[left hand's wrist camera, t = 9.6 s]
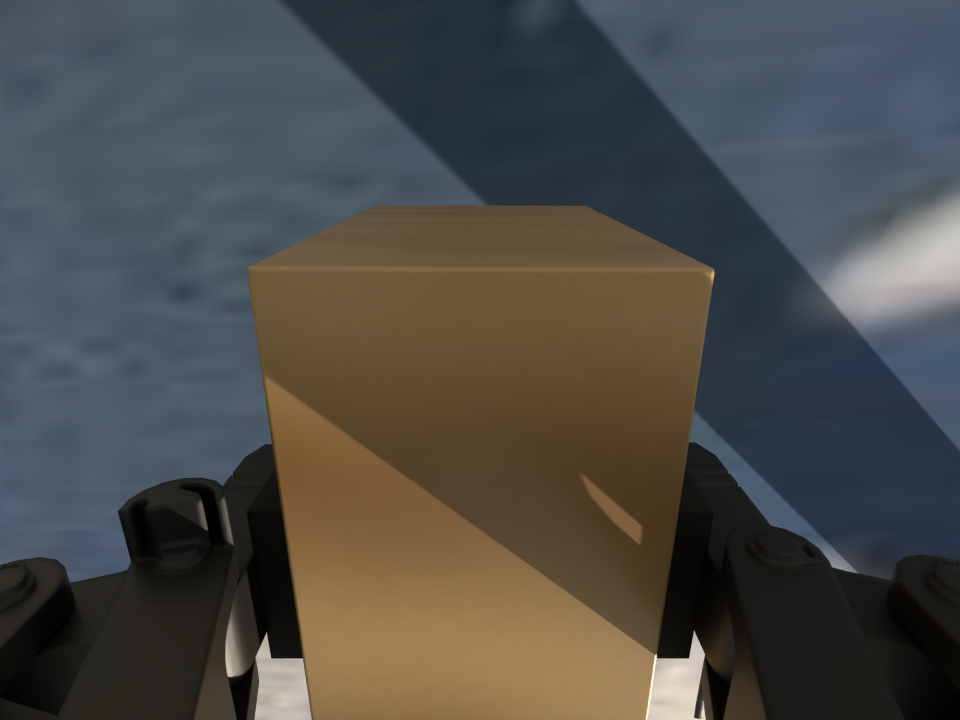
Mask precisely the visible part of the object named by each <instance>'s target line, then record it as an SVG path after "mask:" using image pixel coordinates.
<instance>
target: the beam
mask: <svg viewBox="0 0 960 720" xmlns="http://www.w3.org/2000/svg"><path fill="white" fill-rule="evenodd" d="M247 273H248V280H249V287H250V294H251V301H252V308H253V315H254V322H255V329H256V336H257V343H258V350H259V357H260V363H261V370H262V377H263V384H264V391H265V398H266V405H267V412H268V419H269V426H270V433H271V440H272V447H273V453H274V460H275V467H276V474H277V481H278V488H279V495H280V502H281V509H282V516H283V523H284V530H285V537H286V544H287V550H288V557H289V564H290V571H291V578H292V585H293V592H294V599H295V606H296V613H297V620H298V627H299V634H300V640H301V647H302V654H303V661H304V668H305V675H306V682H307V689H308V696H309V703H310V710H311V717H312V720H647V719H648V712H649V706H650V699H651V692H652V686H653V679H654V672H655V666H656V659H657V652H658V646H659V639H660V632H661V626H662V619H663V612H664V606H665V599H666V592H667V586H668V579H669V572H670V566H671V559H672V552H673V546H674V539H675V532H676V526H677V519H678V512H679V506H680V499H681V492H682V486H683V479H684V472H685V466H686V459H687V453H688V446H689V439H690V433H691V426H692V419H693V413H694V406H695V399H696V393H697V386H698V379H699V373H700V366H701V359H702V353H703V346H704V339H705V333H706V326H707V319H708V313H709V306H710V299H711V293H712V286H713V279H714V269H713V268H711V267H709V266H707V265H705V264H703V263H701V262H699V261H697V260H695V259H693V258H691V257H689V256H687V255H685V254H683V253H681V252H679V251H677V250H675V249H673V248H671V247H669V246H667V245H665V244H663V243H660V242H658V241H656V240H654V239H652V238H650V237H648V236H646V235H644V234H642V233H640V232H638V231H636V230H634V229H632V228H630V227H628V226H626V225H624V224H622V223H620V222H618V221H616V220H614V219H612V218H610V217H608V216H606V215H604V214H602V213H600V212H597V211H595V210H593V209H591V208H589V207H587V206H501V205H376V206H374V207H372V208H370V209H367V210H365V211H363V212H361V213H359V214H357V215H355V216H353V217H351V218H349V219H347V220H345V221H343V222H341V223H339V224H337V225H335V226H332V227H330V228H328V229H326V230H324V231H322V232H320V233H318V234H316V235H314V236H312V237H310V238H308V239H306V240H304V241H302V242H299V243H297V244H295V245H293V246H291V247H289V248H287V249H285V250H283V251H281V252H279V253H277V254H275V255H273V256H271V257H269V258H267V259H264V260H262V261H260V262H258V263H256V264H254V265H252V266H250V267H248V270H247Z"/></svg>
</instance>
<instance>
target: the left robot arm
mask: <svg viewBox="0 0 960 720" xmlns="http://www.w3.org/2000/svg"><path fill="white" fill-rule="evenodd" d="M118 514H119V517H120V521H121V525H122V529H123V532H124V536H125V540H126V544H127V547H128V551H129V555H130V559H131V563H130V566H129V568H128V570H126V571H123V572H119V573H115V574H110V575H106V576H101V577H96V578H91V579H87V580H82V581H77V582H72V583H70V582H69V578H68V575H67V572H66V569H65V566H63V565H62V564H61V563H60V562H59V561H57V560H56V559H49V558H42V557H39V558H31V559H23V560H17V561H13V562H9V563H8V564H2V565H0V720H254V718H255V710H256V702H257V694H258V686H259V676H258V669H257V663H256V658H255V657H256V655H257V652H258V650H259V648H260V646H261V644H262V641H263V639H264V637H265V635H266V632H267V636H268V641H269V647H270V653H271V658H303V654H302V647H301V640H300V634H299V627H298V620H297V613H296V606H295V599H294V592H293V585H292V578H291V571H290V564H289V557H288V550H287V544H286V537H285V530H284V523H283V516H282V509H281V502H280V495H279V488H278V481H277V474H276V467H275V460H274V453H273V447H272V444H265V445H264V446H262V447H260V448H259V449H257V450H256V451H254V452H253V453H251V454H250V455H248V456H246V457H245V458H244V459H243V461H242V462H241V463H240V464H239V466H238V467H237V468H236V470H235V471H234V472H233V476H230V477H229V479H228V480H227V481H226V482H225V484H224V485H223V486H221V485H220V484H219V483H218V482H217V481H214V480H210V479H205V478H182V479H178V480H173V481H168V482H164V483H161V484H159V485H156V486H153V487H151V488H148V489H146V490H144V491H142V492H140V493H139V494H137V495H136V496H134V497H132V498H131V499H129V500H128V501H127V502H126V503H125V504H124V505H123V506H122V507H121V508H120V510H119V511H118ZM694 631H695V633H696V635H697V637H698V640H699V642H700V644H701V646H702V648H703V651H704V653H705V658H704V663H703V669H702V674H701V679H700V685H699V690H698V696H697V701H696V707H695V715H694V718H697V719H702V716H703V711H704V709H705V717H706V720H960V562H958V561H956V562H955V561H953V560H951V559H947V558H942V557H935V556H927V555H916V556H909V557H905V558H903V559H902V560H901V561H900V562H898V563H897V565H896V568H895V571H894V574H893V577H892V580H886V579H881V578H876V577H872V576H867V575H862V574H857V573H852V572H848V571H843V570H840V569H836V568H832V567H831V565H830V562H829V561H828V559H827V558H826V557H825V555H824V554H823V553H822V552H821V550H820V549H819V548H818V547H816V546H815V545H813V544H812V543H811V542H809V541H808V540H807V539H805V538H804V537H801V536H799V535H797V534H795V533H793V532H790V531H788V530H786V529H782V528H778V527H774V526H771V525H770V524H769V523H768V521H767V520H766V519H765V518H764V516H763V515H762V514H761V513H760V511H759V510H758V509H757V507H756V506H755V505H754V504H753V502H752V501H751V500H750V498H749V497H748V496H747V495H746V493H745V492H744V491H743V490H742V488H741V487H738V483H737V482H736V481H735V479H734V478H733V477H732V476H731V474H728V470H727V469H726V468H725V467H724V465H723V464H722V463H721V461H720V460H719V459H718V458H717V456H716V455H714V454H713V453H711V452H709V451H708V450H706V449H705V448H703V447H702V446H700V445H698V444H697V443H689V446H688V453H687V459H686V466H685V472H684V479H683V486H682V492H681V499H680V506H679V512H678V519H677V526H676V532H675V539H674V546H673V552H672V559H671V566H670V572H669V579H668V586H667V592H666V599H665V606H664V612H663V619H662V626H661V632H660V639H659V646H658V652H657V658H689V655H690V650H691V644H692V638H693V632H694Z"/></svg>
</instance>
